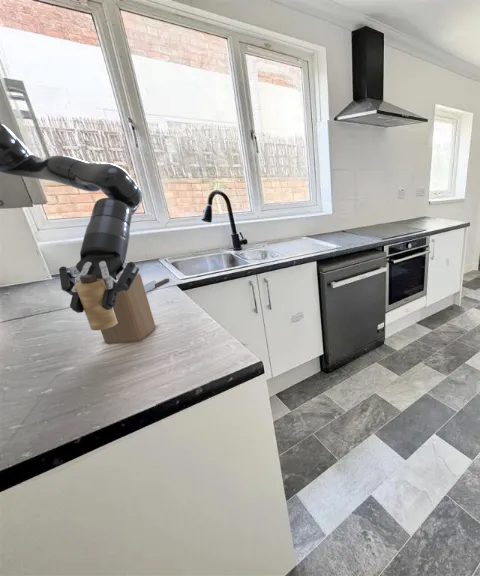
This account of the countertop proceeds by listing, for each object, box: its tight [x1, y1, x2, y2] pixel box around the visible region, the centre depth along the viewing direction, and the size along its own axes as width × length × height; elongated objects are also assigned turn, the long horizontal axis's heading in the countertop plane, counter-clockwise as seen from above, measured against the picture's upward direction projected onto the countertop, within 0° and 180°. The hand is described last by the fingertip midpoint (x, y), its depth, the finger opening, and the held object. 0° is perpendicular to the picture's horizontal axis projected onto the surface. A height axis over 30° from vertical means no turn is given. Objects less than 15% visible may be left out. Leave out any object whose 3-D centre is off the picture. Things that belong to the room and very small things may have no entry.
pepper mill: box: [75, 274, 118, 331], centre depth 64 cm, size 4×4×11 cm
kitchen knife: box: [143, 278, 170, 293], centre depth 140 cm, size 4×1×30 cm
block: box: [100, 272, 156, 345], centre depth 96 cm, size 10×10×20 cm
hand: (92, 309), depth 63 cm, fingers closed on pepper mill, 4 cm apart
